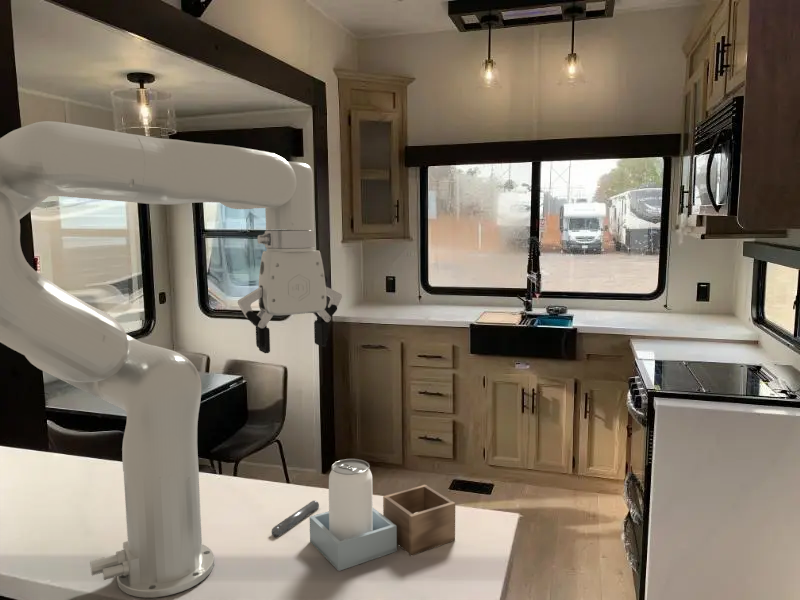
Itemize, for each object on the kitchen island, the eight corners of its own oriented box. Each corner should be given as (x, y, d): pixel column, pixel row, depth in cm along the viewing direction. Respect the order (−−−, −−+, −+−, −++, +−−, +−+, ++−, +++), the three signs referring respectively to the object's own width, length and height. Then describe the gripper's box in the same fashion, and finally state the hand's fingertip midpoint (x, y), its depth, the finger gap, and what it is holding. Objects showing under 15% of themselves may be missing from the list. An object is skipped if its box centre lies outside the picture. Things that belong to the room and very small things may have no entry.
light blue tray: (338, 571, 84) (338, 544, 84) (310, 541, 93) (309, 516, 92) (396, 551, 90) (396, 525, 89) (364, 524, 98) (364, 501, 97)
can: (353, 559, 86) (353, 478, 85) (320, 545, 90) (319, 467, 89) (381, 540, 92) (381, 464, 90) (348, 527, 95) (348, 454, 94)
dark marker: (277, 539, 94) (277, 530, 93) (269, 537, 94) (269, 527, 94) (320, 508, 104) (320, 500, 104) (313, 507, 104) (313, 498, 104)
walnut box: (411, 555, 88) (411, 516, 88) (383, 532, 95) (383, 496, 94) (455, 540, 93) (455, 503, 92) (425, 519, 99) (425, 484, 99)
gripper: (244, 243, 88) (248, 358, 90) (350, 241, 97) (351, 346, 99) (229, 242, 94) (233, 350, 96) (329, 240, 104) (331, 339, 106)
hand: (293, 348), depth 98 cm, fingers open, 9 cm apart
